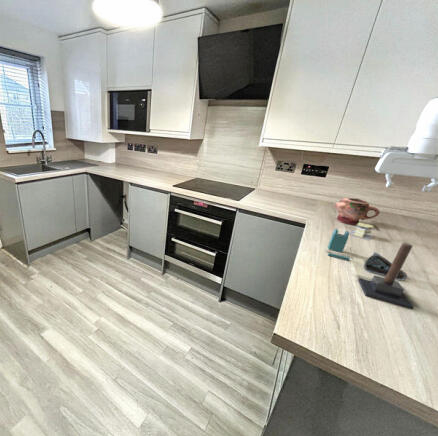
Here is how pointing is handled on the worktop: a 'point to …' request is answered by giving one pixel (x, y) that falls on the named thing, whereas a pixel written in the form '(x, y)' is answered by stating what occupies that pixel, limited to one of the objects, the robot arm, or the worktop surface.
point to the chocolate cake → (381, 266)
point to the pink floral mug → (354, 210)
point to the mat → (370, 292)
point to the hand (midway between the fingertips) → (406, 189)
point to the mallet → (392, 275)
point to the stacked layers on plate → (362, 231)
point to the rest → (338, 244)
